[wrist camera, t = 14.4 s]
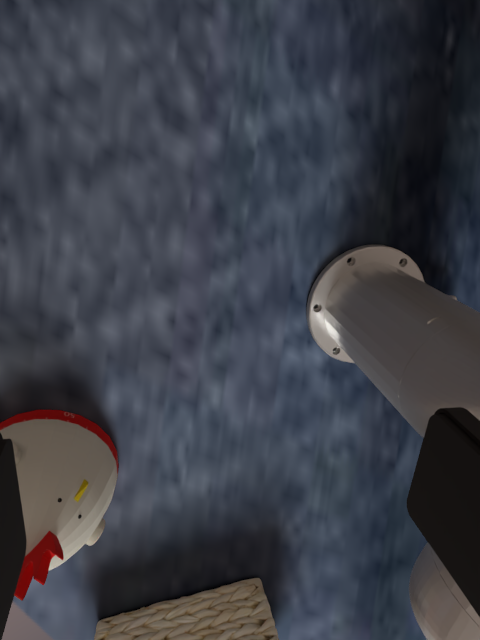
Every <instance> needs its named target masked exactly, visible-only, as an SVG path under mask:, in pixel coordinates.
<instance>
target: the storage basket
mask: <svg viewBox="0 0 480 640" xmlns="http://www.w3.org/2000/svg"><path fill="white" fill-rule="evenodd" d="M270 610H271V609H270V605H269V603H268V601H267V597H266V595H265V593H264V589H263V586H262V582H261V580H260V579H259V578H252V579H247V580H242V581H239V582H235V583H232V584H230V585H224V586H221V587H220V588H216V589H212V590H207V591H202V592H199V593H196V594H194V595H191V596H187V597H186V596H184V597H181V598H180V599H174V600H168V601H162V602H158V603H155V604H152V605H150V606H148V607H143V608H140V609H139V610H136V611H132V612H128V613H121V614H119V615H117V616H113V617H109V618H105V619H102V620H100V621H99V622H98V623H97V626H96V634H95V638H94V640H279V638H278V633H277V629H276V628H275V622H274V619H273V617H272V613H271V611H270Z"/></svg>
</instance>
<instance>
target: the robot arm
mask: <svg viewBox="0 0 480 640" xmlns="http://www.w3.org/2000/svg"><path fill="white" fill-rule="evenodd" d="M349 258H350V259H349ZM348 259H349V261H347V260H348ZM316 304H317V305H316ZM315 305H316V306H315ZM314 306H315V307H314ZM306 310H307V323H308V327H309V330H310V333H311V335H312V337H313V339H314V340H315V341H316V343H317V344H318V345H319V346H320V348H321V349H322V350H323V351H324V352H325V353H327V354H328V355H330V356H331V357H333V358H335V359H338V360H341V361H344V362H350V363H355V364H356V365H357V366H358V367H359V368H360V369H361V370H362V371H363V372H364V374H365V375H366V376H367V377H368V378H369V379H370V380H371V381H372V382H373V384H374V385H375V386H376V387H377V388H378V389H379V390H380V391H381V392H382V393H383V395H384V396H385V397H386V398H387V399H388V400H389V401H390V402H391V403H392V405H393V406H394V407H395V408H396V409H397V410H398V411H399V412H400V413H401V415H402V416H403V417H404V418H405V419H406V420H407V421H408V423H409V424H410V425H411V426H412V427H413V428H414V429H415V430H416V431H417V432H418V433H419V434H420V435H421V436H422V437H423V438H424V439H423V443H422V447H421V450H420V454H419V458H418V461H417V465H416V469H415V472H414V476H413V480H412V483H411V487H410V491H409V494H408V498H407V509H408V512H409V515H410V516H411V518H412V520H413V521H414V522H415V524H416V525H417V527H418V528H419V530H420V531H421V533H422V534H423V536H424V537H425V539H426V540H427V541H428V542H427V544H426V545H425V547H424V548H423V550H422V552H421V553H420V555H419V556H418V558H417V560H416V562H415V564H414V567H413V569H412V572H411V576H410V583H409V594H410V602H411V606H412V609H413V612H414V615H415V618H416V620H417V622H418V624H419V626H420V628H421V630H422V632H423V633H424V635H425V637H426V639H427V640H480V313H479V312H477V311H475V310H474V309H472V308H470V307H468V306H466V305H464V304H463V303H461V302H459V301H457V298H456V297H455V296H448V295H446V294H444V293H442V292H440V291H439V290H437V289H435V288H433V287H431V286H429V285H428V284H426V283H425V282H424V278H423V275H422V273H421V271H420V269H419V267H418V266H417V264H416V263H415V262H414V261H413V260H412V259H411V258H410V257H409V256H407V255H406V254H404V253H403V252H401V251H399V250H397V249H395V248H393V247H389V246H385V245H365V246H359V247H356V248H354V249H351V250H348V251H346V252H345V253H343V254H341V255H339V256H338V257H336V258H335V259H334V260H333V261H332V262H330V263H329V264H328V265H327V266H326V267H325V268H324V270H323V271H322V272H321V273H320V274H319V276H318V277H317V279H316V281H315V282H314V284H313V286H312V289H311V291H310V294H309V297H308V302H307V308H306ZM26 543H27V540H26V531H25V525H24V518H23V511H22V504H21V497H20V490H19V483H18V477H17V470H16V463H15V456H14V449H13V443H12V440H11V439H3V437H2V435H1V433H0V640H1V639H2V636H3V632H4V629H5V625H6V621H7V618H8V614H9V611H10V608H11V604H12V600H13V597H14V593H15V590H16V586H17V583H18V579H19V576H20V572H21V569H22V565H23V562H24V558H25V553H26Z"/></svg>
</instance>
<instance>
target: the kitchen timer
mask: <svg viewBox="0 0 480 640" xmlns="http://www.w3.org/2000/svg"><path fill="white" fill-rule="evenodd" d="M0 433H1V435H2V437H3V439H11V440H12V443H13V449H14V456H15V463H16V470H17V477H18V483H19V490H20V497H21V504H22V511H23V518H24V525H25V531H26V540H27V543H26V553H25V558H24V562H23V565H22V569H21V572H20V576H19V579H18V583H17V586H16V590H15V593H14V596H16V597H17V598H19V599H20V600H23V599H24V597H25V595H26V593H27V590H28V588H29V585H30V583H31V580H32V577H33V576H34V579H35V580H36V581H38V582H39V583H41V584H42V585H44V584H45V581H46V578H47V574H48V571H49V570H51V569H53V568H56V567H57V566H59V565H61V564H62V563H64V562H65V561H66V560H68V559H69V558H70V557H71V556H72V555H74V554H75V553H76V552H77V551H78V550H79V549H80V548H81V547H82V546H83V545H84V544H87V545H89V546H91V545H93V544H94V543H95V542H96V541H97V540H98V539H99V537H100V536H101V534H102V532H103V530H104V527H105V520H104V519H103V516H104V514H105V512H106V510H107V508H108V506H109V504H110V502H111V500H112V497H113V493H114V489H115V485H116V481H117V477H118V466H119V465H118V457H117V450H116V448H115V446H114V444H113V442H112V440H111V439H110V437H109V436H108V435H107V434H106V433H105V432H104V431H103V430H102V429H101V428H100V427H99V426H98V425H97V424H95V423H94V422H92V421H90V420H88V419H86V418H84V417H82V416H81V415H77V414H73V413H69V412H66V411H62V410H35V411H30V412H25V413H21V414H17V415H15V416H13V417H11V418H9V419H7V420H5V421H3V422H1V423H0Z"/></svg>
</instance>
